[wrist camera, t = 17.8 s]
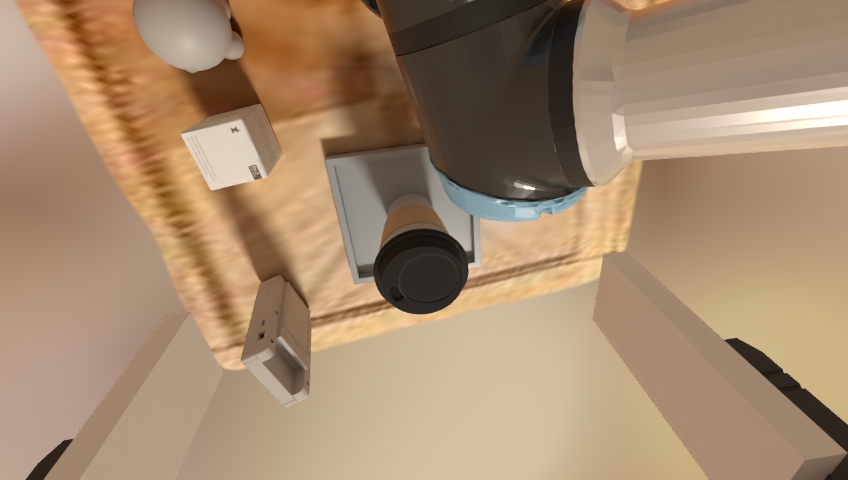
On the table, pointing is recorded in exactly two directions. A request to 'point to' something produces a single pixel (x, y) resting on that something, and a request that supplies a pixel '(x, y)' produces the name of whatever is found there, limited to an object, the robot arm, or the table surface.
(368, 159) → the grey tray
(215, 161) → the skincare box
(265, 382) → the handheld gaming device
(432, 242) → the coffee cup
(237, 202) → the table surface
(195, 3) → the rhino figurine
